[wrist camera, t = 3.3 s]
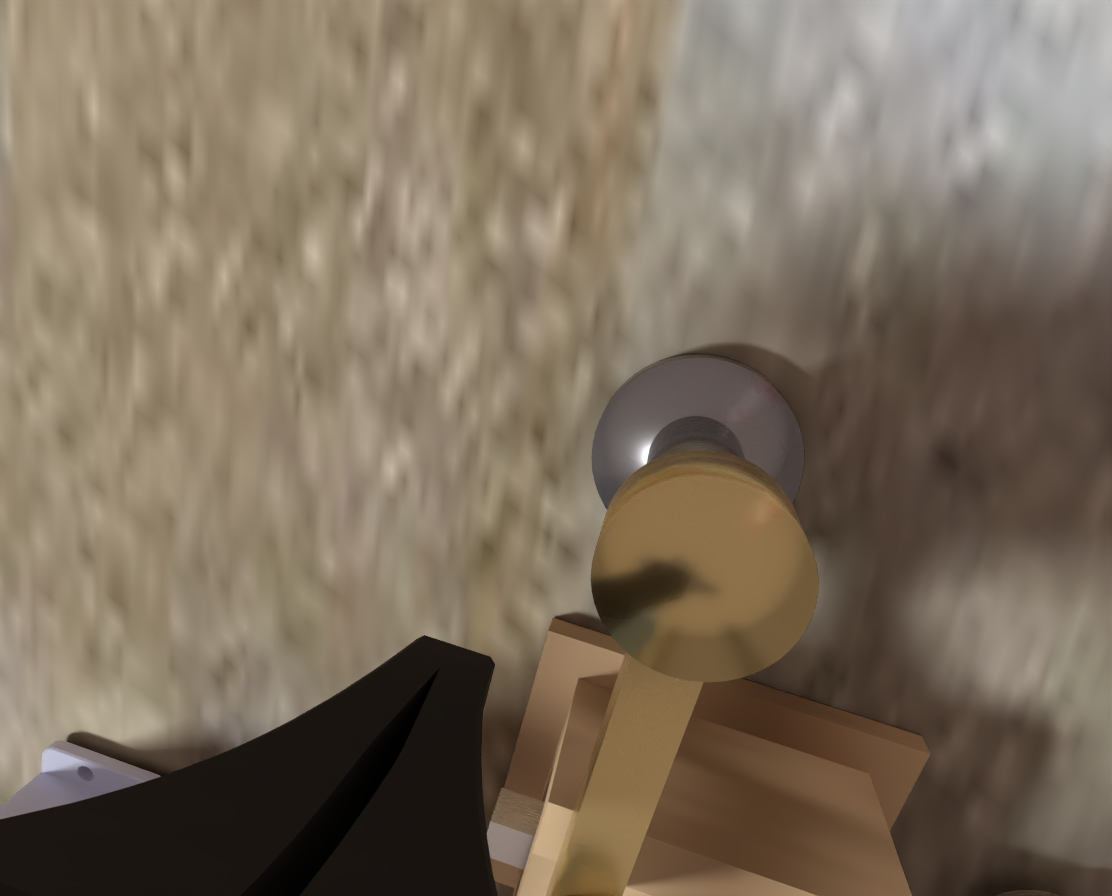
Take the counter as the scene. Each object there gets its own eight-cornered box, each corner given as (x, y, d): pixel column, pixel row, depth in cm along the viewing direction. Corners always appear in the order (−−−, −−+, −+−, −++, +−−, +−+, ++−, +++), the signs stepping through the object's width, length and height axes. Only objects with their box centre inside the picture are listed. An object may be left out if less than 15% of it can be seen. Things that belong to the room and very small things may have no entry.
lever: (631, 425, 10) (618, 470, 8) (831, 483, 10) (869, 545, 8) (499, 872, 13) (463, 990, 11) (650, 927, 13) (644, 1058, 11)
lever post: (573, 513, 16) (533, 610, 12) (625, 329, 15) (601, 364, 10) (759, 570, 16) (788, 691, 11) (831, 386, 14) (893, 446, 10)
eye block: (484, 856, 19) (429, 1027, 15) (553, 617, 17) (509, 742, 13) (801, 970, 19) (835, 1184, 14) (922, 735, 16) (1007, 912, 12)
